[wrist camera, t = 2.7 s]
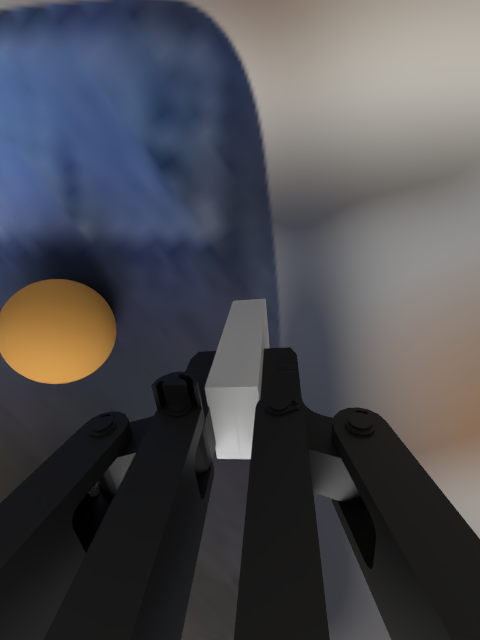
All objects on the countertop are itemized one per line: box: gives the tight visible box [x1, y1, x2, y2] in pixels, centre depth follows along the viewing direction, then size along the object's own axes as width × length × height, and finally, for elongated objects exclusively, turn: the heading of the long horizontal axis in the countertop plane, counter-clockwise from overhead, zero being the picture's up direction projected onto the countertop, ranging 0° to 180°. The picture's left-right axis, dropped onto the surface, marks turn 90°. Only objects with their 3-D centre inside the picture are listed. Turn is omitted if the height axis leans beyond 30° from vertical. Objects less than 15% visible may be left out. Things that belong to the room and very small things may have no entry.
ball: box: [0, 279, 116, 384], centre depth 17 cm, size 6×6×6 cm
